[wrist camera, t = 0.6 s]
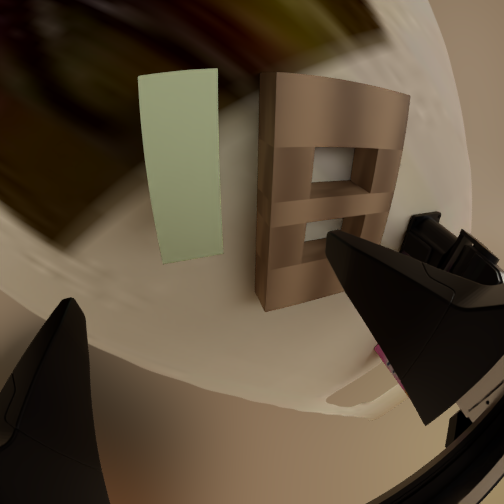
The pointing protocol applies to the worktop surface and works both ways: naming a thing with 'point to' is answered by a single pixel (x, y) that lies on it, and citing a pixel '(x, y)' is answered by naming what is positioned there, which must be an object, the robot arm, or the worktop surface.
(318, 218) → the brown wooden flat panel
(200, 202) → the sage green tapered block
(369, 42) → the worktop surface
